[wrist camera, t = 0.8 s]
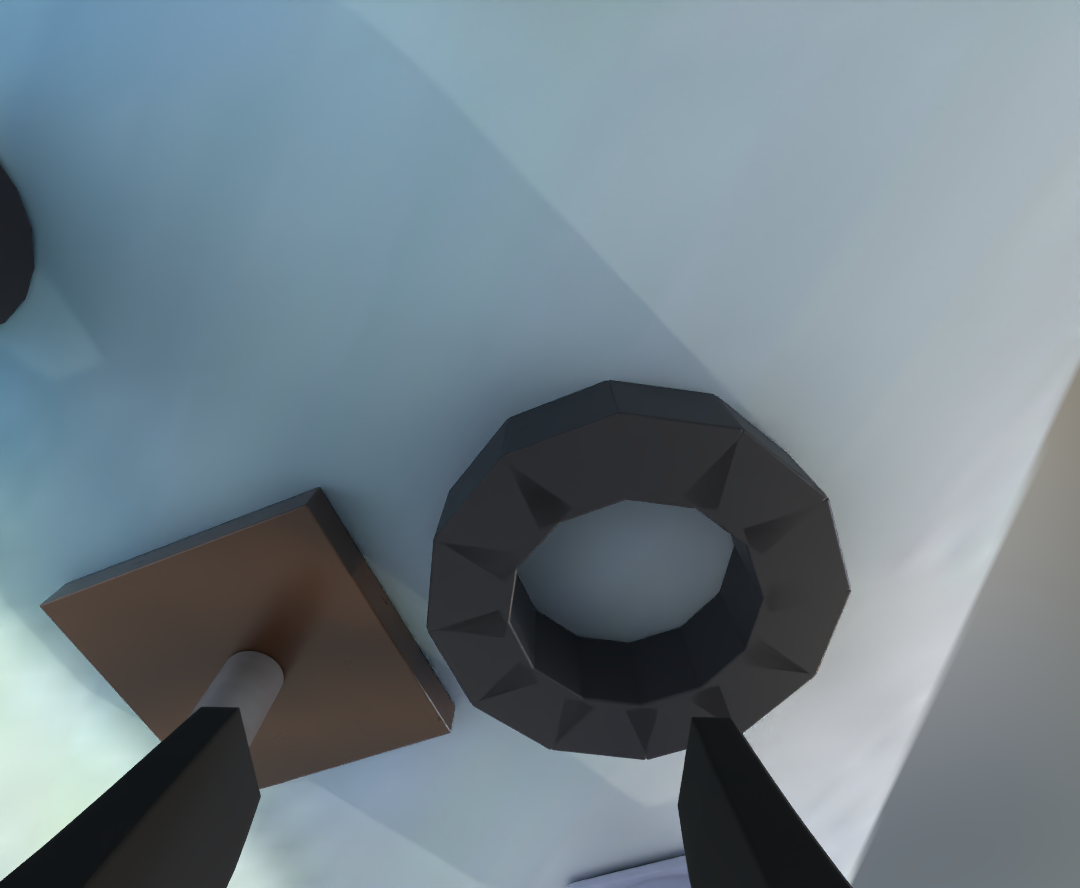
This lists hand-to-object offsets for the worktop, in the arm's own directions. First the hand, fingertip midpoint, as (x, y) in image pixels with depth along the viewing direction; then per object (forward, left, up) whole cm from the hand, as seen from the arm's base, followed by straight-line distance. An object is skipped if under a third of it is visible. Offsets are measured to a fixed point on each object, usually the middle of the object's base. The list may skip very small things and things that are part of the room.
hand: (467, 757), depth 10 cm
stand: (-3, +10, -10) cm, 15 cm away
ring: (-4, -3, -10) cm, 11 cm away
